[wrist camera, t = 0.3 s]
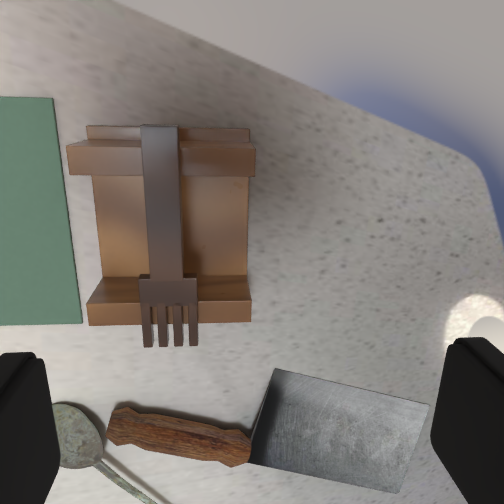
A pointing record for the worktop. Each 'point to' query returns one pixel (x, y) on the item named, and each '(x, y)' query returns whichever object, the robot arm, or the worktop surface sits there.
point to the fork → (165, 240)
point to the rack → (193, 211)
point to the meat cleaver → (297, 433)
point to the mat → (34, 219)
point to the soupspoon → (85, 446)
